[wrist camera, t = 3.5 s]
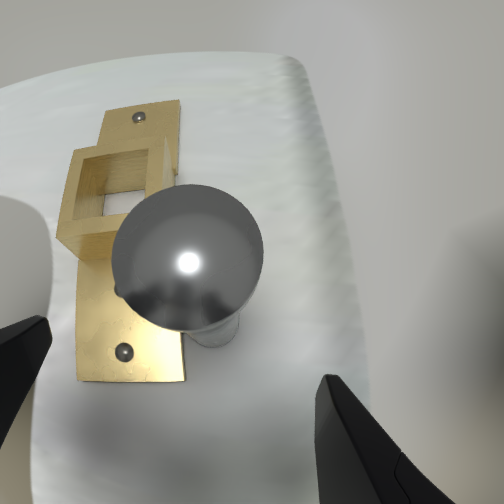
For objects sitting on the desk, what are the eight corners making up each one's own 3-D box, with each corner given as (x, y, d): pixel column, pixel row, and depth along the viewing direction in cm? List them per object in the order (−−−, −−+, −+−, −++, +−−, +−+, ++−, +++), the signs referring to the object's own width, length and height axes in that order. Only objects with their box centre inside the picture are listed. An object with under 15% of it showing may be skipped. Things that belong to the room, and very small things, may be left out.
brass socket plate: (185, 380, 17) (171, 382, 13) (82, 380, 17) (46, 378, 13) (180, 105, 26) (174, 67, 22) (107, 116, 25) (94, 81, 21)
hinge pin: (224, 368, 18) (209, 361, 7) (166, 331, 18) (84, 273, 8) (259, 310, 19) (290, 227, 9) (202, 276, 20) (169, 164, 9)
